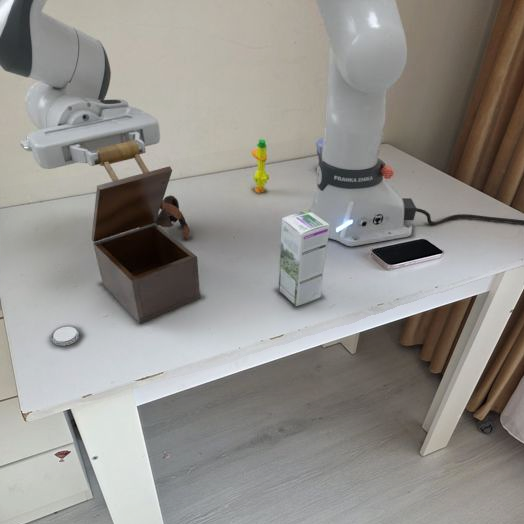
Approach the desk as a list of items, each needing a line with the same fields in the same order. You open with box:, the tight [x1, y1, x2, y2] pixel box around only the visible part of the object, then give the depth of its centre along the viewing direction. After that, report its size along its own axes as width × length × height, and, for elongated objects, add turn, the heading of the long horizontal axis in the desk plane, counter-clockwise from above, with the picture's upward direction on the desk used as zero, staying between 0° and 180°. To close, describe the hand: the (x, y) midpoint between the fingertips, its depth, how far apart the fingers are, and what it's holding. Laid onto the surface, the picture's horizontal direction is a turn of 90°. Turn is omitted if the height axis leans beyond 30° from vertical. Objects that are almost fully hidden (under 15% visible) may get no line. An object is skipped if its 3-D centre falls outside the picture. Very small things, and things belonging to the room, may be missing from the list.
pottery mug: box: [139, 195, 191, 241], centre depth 99 cm, size 12×10×8 cm
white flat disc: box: [51, 325, 80, 346], centre depth 76 cm, size 4×4×1 cm
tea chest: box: [92, 223, 201, 324], centre depth 83 cm, size 14×12×8 cm
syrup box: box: [278, 210, 330, 307], centre depth 81 cm, size 6×6×14 cm
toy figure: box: [251, 139, 270, 194], centre depth 112 cm, size 7×4×12 cm, turn 27°
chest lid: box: [91, 141, 173, 243], centre depth 78 cm, size 15×12×7 cm
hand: (119, 154), depth 72 cm, fingers closed on chest lid, 6 cm apart
